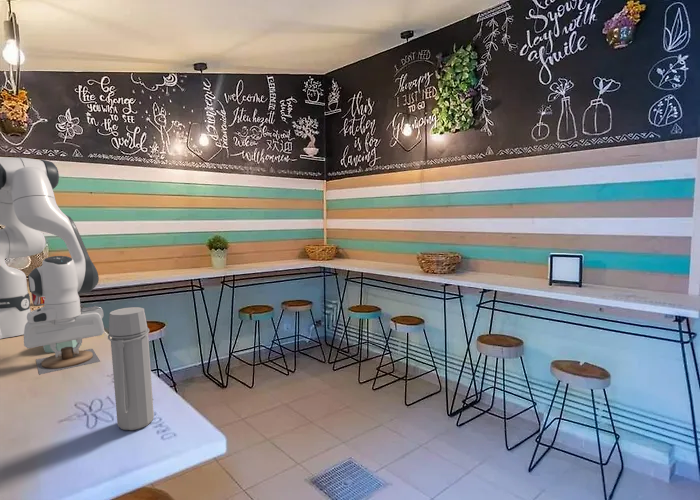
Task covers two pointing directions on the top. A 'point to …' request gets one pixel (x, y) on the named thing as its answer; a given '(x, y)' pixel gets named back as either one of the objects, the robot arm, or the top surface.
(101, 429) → the top surface
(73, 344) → the ceramic bowl
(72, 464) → the top surface
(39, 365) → the rubber mat
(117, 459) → the top surface
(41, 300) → the soda can
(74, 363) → the walnut lid
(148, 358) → the water bottle
